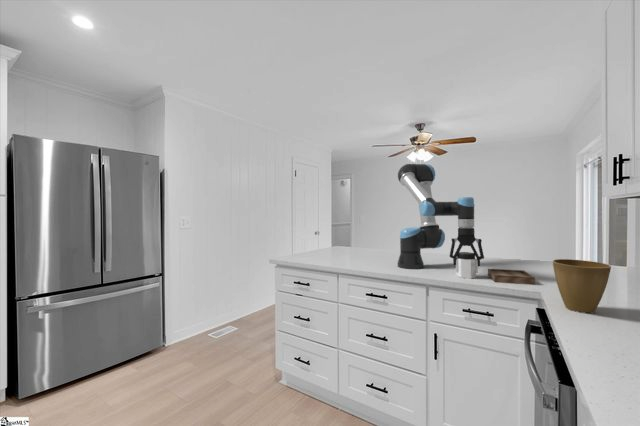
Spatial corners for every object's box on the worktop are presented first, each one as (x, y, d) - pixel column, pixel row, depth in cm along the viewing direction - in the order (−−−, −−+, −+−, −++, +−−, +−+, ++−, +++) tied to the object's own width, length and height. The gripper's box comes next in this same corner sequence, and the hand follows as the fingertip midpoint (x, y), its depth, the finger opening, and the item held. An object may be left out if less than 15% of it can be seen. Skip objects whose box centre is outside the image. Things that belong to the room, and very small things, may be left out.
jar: (468, 279, 146) (468, 254, 146) (453, 276, 153) (453, 253, 153) (478, 276, 151) (478, 253, 151) (463, 274, 158) (463, 251, 158)
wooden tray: (494, 282, 140) (494, 275, 140) (487, 275, 155) (487, 268, 155) (535, 284, 135) (535, 277, 135) (523, 277, 150) (523, 270, 150)
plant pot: (549, 310, 101) (549, 263, 101) (556, 300, 112) (556, 257, 111) (610, 321, 91) (610, 268, 90) (611, 309, 101) (611, 262, 101)
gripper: (444, 227, 152) (444, 272, 152) (491, 228, 145) (491, 274, 145) (443, 227, 159) (443, 269, 159) (488, 227, 152) (488, 271, 152)
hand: (466, 272), depth 152 cm, fingers closed on jar, 8 cm apart
